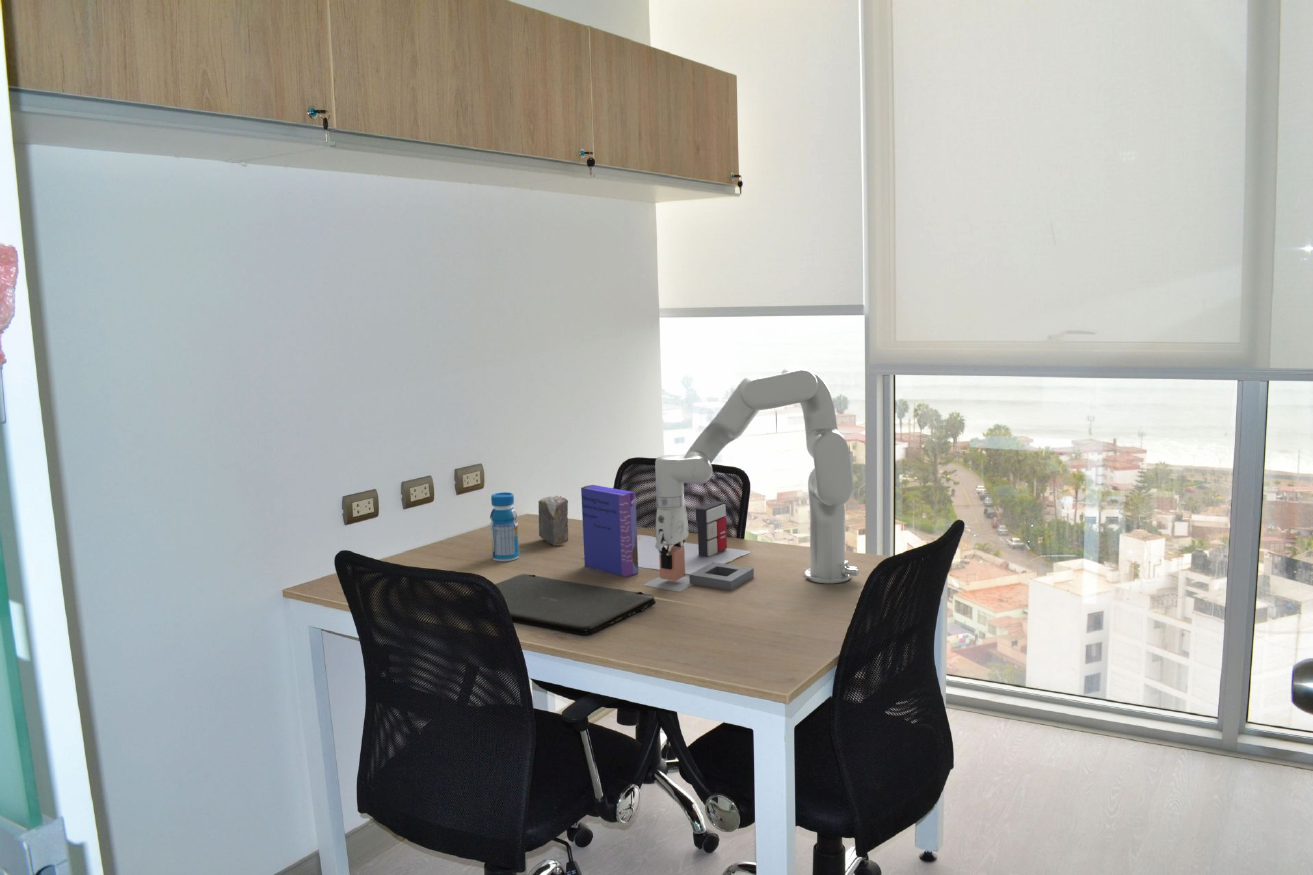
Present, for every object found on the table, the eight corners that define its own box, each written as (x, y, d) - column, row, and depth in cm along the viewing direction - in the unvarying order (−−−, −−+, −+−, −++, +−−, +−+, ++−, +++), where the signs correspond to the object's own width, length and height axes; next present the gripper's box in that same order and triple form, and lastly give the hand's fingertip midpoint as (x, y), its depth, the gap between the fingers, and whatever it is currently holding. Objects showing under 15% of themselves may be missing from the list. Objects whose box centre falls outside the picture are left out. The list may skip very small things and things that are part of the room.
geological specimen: (538, 540, 318) (536, 495, 315) (555, 537, 321) (553, 492, 319) (553, 547, 309) (551, 501, 306) (570, 544, 312) (568, 498, 310)
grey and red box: (708, 558, 291) (707, 509, 289) (696, 556, 294) (695, 508, 291) (728, 549, 300) (727, 502, 297) (716, 547, 302) (715, 500, 300)
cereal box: (638, 573, 279) (635, 491, 275) (626, 577, 276) (623, 494, 272) (596, 562, 291) (592, 484, 287) (584, 566, 288) (581, 487, 284)
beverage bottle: (501, 563, 293) (497, 499, 290) (486, 558, 299) (482, 494, 296) (525, 557, 298) (521, 494, 295) (510, 552, 305) (506, 490, 301)
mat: (702, 581, 270) (702, 579, 270) (679, 593, 260) (679, 591, 260) (666, 575, 277) (666, 573, 277) (642, 587, 267) (642, 584, 267)
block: (685, 575, 269) (684, 547, 268) (675, 580, 265) (674, 552, 263) (669, 573, 272) (668, 545, 270) (660, 578, 268) (659, 550, 266)
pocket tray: (753, 578, 271) (753, 568, 271) (731, 592, 260) (731, 581, 260) (713, 572, 278) (712, 561, 278) (689, 584, 267) (689, 574, 267)
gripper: (665, 509, 256) (667, 576, 259) (698, 496, 270) (699, 559, 273) (641, 506, 260) (643, 572, 263) (675, 493, 274) (677, 556, 277)
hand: (672, 565), depth 268 cm, fingers closed on block, 5 cm apart
